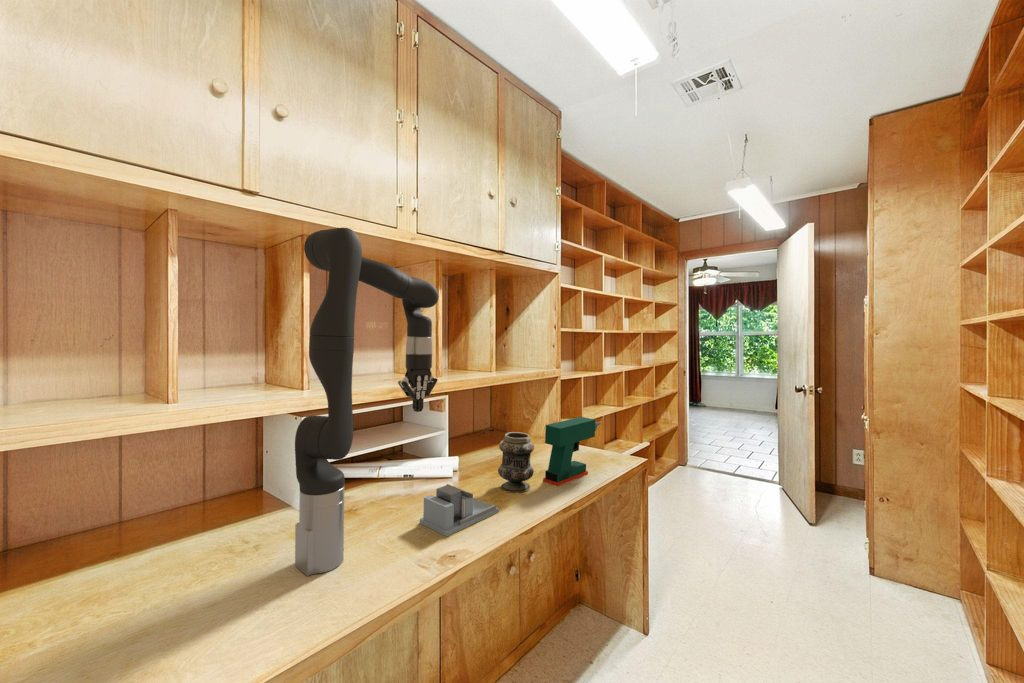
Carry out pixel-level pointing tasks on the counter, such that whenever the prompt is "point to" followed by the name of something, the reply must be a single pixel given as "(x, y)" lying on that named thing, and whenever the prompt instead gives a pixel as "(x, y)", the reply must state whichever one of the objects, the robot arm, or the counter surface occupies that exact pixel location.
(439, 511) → the vise base
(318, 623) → the counter surface
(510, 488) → the apothecary jar
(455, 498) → the block
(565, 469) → the power tool
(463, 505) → the free jaw
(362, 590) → the counter surface
